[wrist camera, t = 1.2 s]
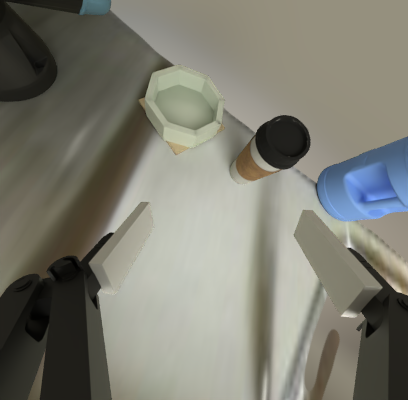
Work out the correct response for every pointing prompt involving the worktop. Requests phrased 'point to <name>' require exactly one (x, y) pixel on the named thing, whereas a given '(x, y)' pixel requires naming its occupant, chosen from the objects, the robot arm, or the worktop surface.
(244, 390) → the worktop surface
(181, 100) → the bowl
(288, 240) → the worktop surface
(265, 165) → the coffee cup
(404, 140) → the water jug
